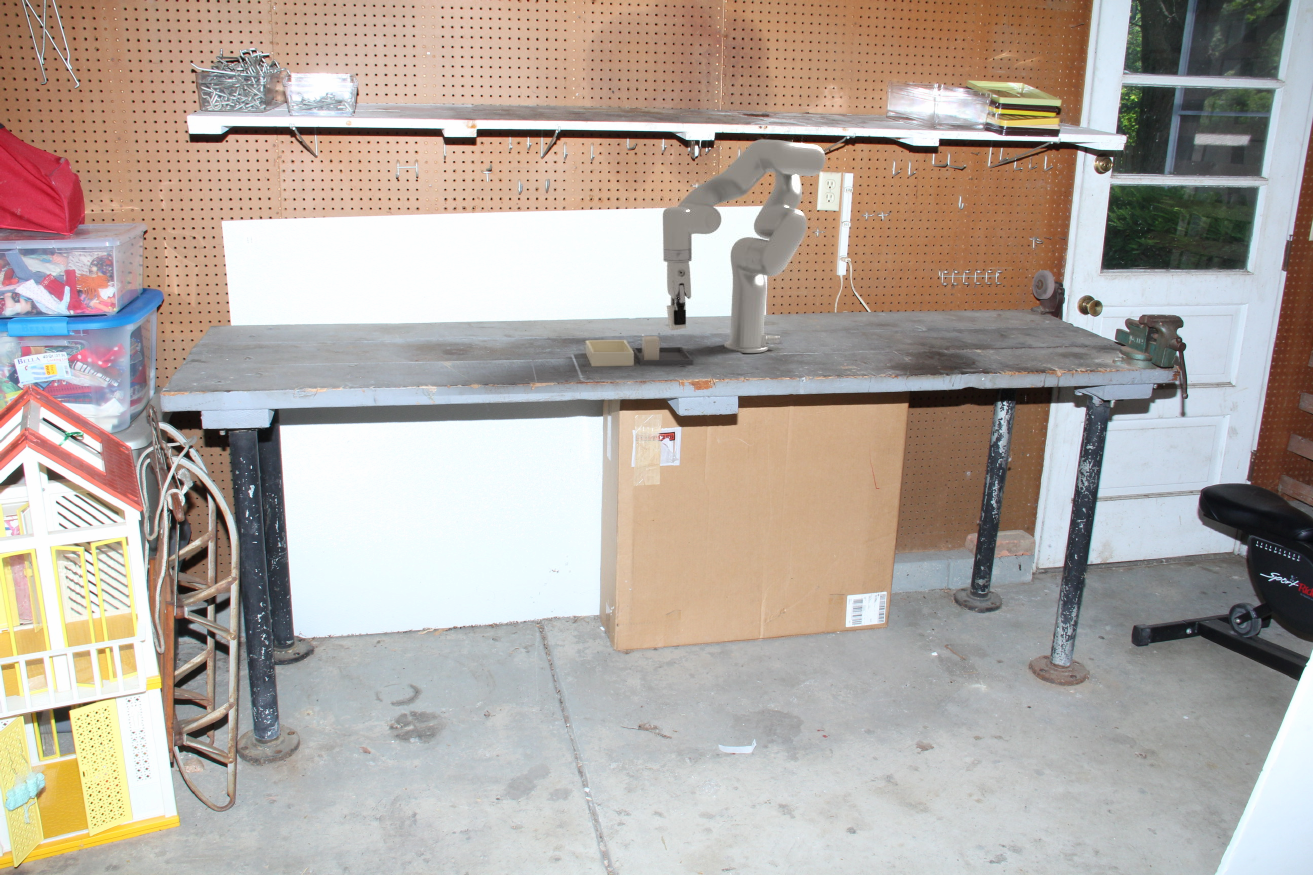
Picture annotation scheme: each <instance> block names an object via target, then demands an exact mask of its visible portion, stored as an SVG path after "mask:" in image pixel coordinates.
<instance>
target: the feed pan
mask: <svg viewBox="0 0 1313 875" xmlns="http://www.w3.org/2000/svg"><path fill="white" fill-rule="evenodd" d="M631 349H632V350H633V352H634V358H635V359H636V361H637V362H638V363H639V364H640V366H680V365H681V366H683V365H685V366H687V365H688V366H691V365H694V358H692V357H691V355H690V354H689V353H688V352H687V351H686V350H685V349H684V348H683V347H682V346H667V347H666V346H665V347H664V346H662V347H661V346H659V360H643V359H642V347H631Z"/></svg>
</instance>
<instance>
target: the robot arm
mask: <svg viewBox="0 0 1313 875" xmlns="http://www.w3.org/2000/svg"><path fill="white" fill-rule="evenodd" d="M825 165H826V154H825V151H824V150H823V149H822V147H820V145H817V144H814V143H804V142H803V143H802V142H793V141H787V140H779V139H757V140H755V141H753V142H752V143H751V144H749V145H748V146H747V147H746V148H745V149H744V151H742V153H740V154H739V156H738V157H737V158H736V159H735V160H734V161H733V162H731V164H730V165H729V166H728V167H726V169H725V170H724V171H722V172H721V173H719V174H717V175H715V176H713V177H711V178H710V179H708V180H706V181H705V182H703V183H701V184H700V185H698V186H696V187H695V188H694V189H692V190H691V191H690V192H689V193H688V194H687V195H686V196H685V197H684V198H683V199H682V200H681V201H680V203H679V204H678V205H677V206H670V207H666V208H664V210H663V213H662V235H663V237H662V245H663V246H662V247H663V248H662V250H663V252H662V253H663V254H662V255H663V257H662V258H663V259H662V260H663V262H665V263H666V264H667V265H666V271H667V272H666V284H667V285H666V287H667V293H668V295H669V296H670V305H675V310H674V324H675V325H685V324H686V325H687V310H686V309H687V307H686V305H687V304H686V299H688V300H691V298H692V281H691V270H690V269H691V268H690V262H691V261H692V259H693V257H692V254H693V253H692V251H693V250H692V248H693V247H692V241H693V240H692V235H697V234H698V235H709V234H712V233H714V232H716V231H717V230H718V229H719V228H720V226H721V223H722V215H721V213H720V211H719V210H718V209H717V208H716V207H715V206H718V205H719V204H721V203H726V202H729V201H734V200H737V199H740V198H742V197H744V196H746V194H748V193H749V192H750V190H751V189H752V188H753V187H754V186H756V184H757V183H758V182H759V181H760V180H761V179H763V177H764V176H765V175H766V174H768V173H773V174H774V186H773V189H772V191H771V192H770V194H769V196H768V197H767V199H766V201H765V202H764V204H763V206H762V208H761V209H760V211H759V212H758V214H757V215H756V218H755V220H754V223H753V230H754V232H755V234H756V235H757V236H758V237H760V238H758V237H753V236H752V237H751V236H748V237H741V238H739V239H738V240H737V241H735V242H734V243H733V245H732V248H731V250H730V264H731V265H730V266H731V271H732V272H731V274H732V293H731V314H730V333H729V334H730V335H729V340H728V341H726V342H725V343H724V344H723V345H724V348H725V349H728V350H731V351H737V352H739V353H743V354H757V353H764V352H766V351H768V349H769V345H768V344H770V343H772V344H777V343H780V341H781V340H780V336H779V335H772V334H771V335H769V334H768V335H767V333H765V331H764V330H765V329H764V328H765V316H766V315H765V314H766V313H765V312H766V298H767V297H766V296H767V284H766V279H765V276H766V277H776V276H778V275H779V274H781V273H782V272H783V271H784V270H786V268H787V266H788V264H789V263H790V261H791V260H792V258H793V257H794V255H795V253H796V252H797V250H798V248H799V247H800V245H801V244H802V242H803V240H804V237H806V233H807V228H808V221H807V218H806V215H805V213H803V211H802V210H800V209H798V207H799V205H800V204H801V200H802V197H803V186H802V181H801V176H802V177H814V176H817V175H819V174H821V172H822V171H823V169H824V168H825Z"/></svg>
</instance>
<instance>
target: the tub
mask: <svg viewBox="0 0 1313 875" xmlns="http://www.w3.org/2000/svg"><path fill="white" fill-rule="evenodd" d="M585 354H586V357H587V359H588V361H589V363H590V365H591V367H628V366H631V367H633V366H635V365H634V364H635V363H634V359H635V356H634V352H633V350H632V347H631V346H630V345H629V343H628V342H627V340H626V339H614V340H613V339H609V340H608V339H607V340H603V339H602V340H599V339H598V340H585Z"/></svg>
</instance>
